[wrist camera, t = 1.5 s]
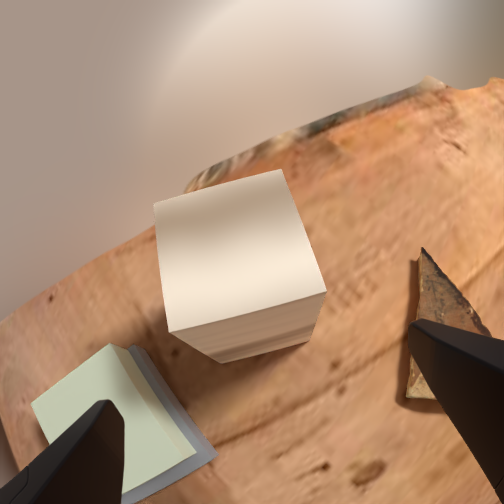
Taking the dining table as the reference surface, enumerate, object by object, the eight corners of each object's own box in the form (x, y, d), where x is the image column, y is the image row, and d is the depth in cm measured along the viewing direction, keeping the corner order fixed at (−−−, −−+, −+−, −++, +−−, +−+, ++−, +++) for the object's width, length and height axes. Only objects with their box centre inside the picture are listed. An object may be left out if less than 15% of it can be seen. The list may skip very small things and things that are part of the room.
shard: (415, 255, 23) (423, 244, 21) (491, 273, 21) (502, 264, 19) (397, 397, 18) (406, 396, 17) (484, 405, 17) (497, 403, 15)
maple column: (309, 340, 20) (326, 291, 12) (221, 363, 20) (168, 332, 11) (284, 261, 23) (280, 168, 14) (203, 282, 23) (153, 203, 14)
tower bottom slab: (221, 452, 18) (213, 459, 16) (127, 505, 16) (111, 513, 14) (148, 350, 22) (133, 344, 20) (67, 408, 20) (48, 407, 18)
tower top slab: (196, 452, 16) (184, 459, 14) (108, 501, 15) (88, 509, 12) (128, 350, 19) (109, 342, 17) (52, 405, 18) (30, 403, 16)
